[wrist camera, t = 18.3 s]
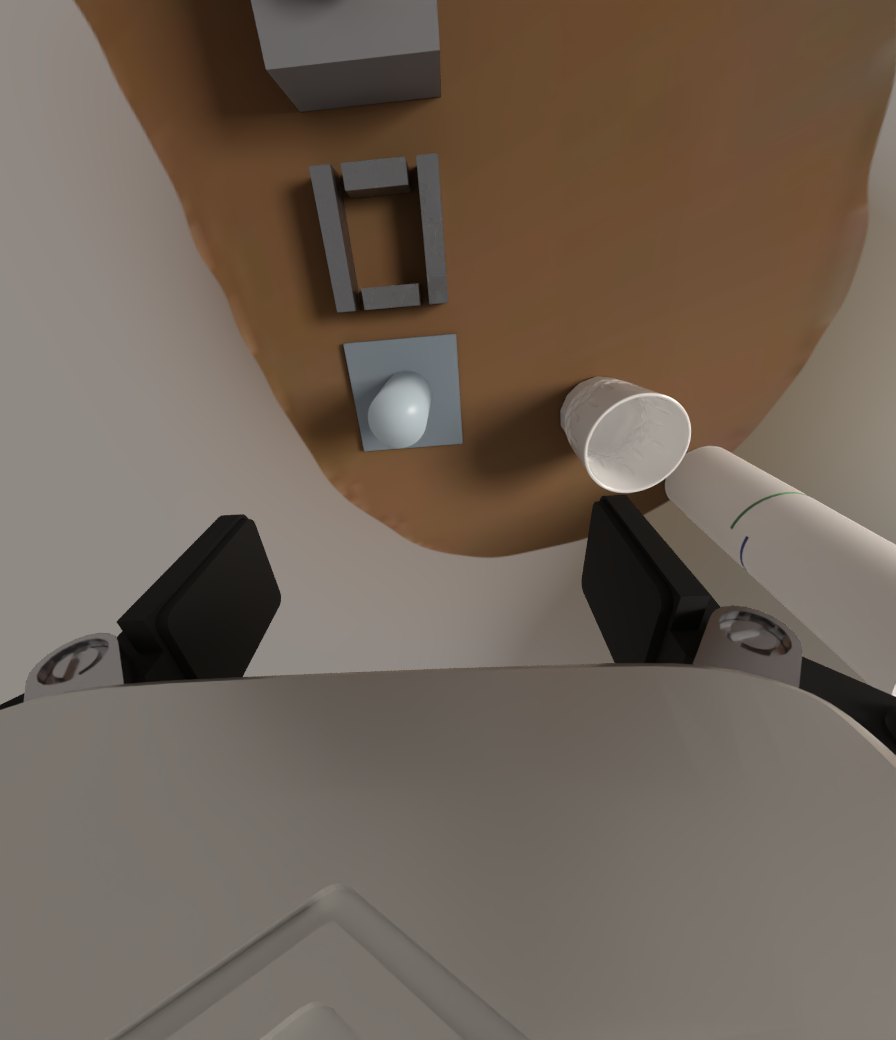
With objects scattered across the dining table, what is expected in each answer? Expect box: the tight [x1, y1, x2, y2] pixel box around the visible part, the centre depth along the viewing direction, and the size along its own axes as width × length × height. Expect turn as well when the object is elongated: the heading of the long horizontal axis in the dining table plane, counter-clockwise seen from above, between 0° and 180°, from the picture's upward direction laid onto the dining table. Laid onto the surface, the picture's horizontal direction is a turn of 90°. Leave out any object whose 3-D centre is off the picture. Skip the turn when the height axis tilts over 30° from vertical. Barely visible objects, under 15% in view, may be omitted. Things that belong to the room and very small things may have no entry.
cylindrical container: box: [665, 446, 896, 697], centre depth 31 cm, size 7×7×25 cm
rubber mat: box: [343, 334, 463, 451], centre depth 37 cm, size 10×10×1 cm
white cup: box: [560, 377, 691, 493], centre depth 34 cm, size 8×8×10 cm
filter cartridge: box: [368, 371, 432, 448], centre depth 33 cm, size 4×4×8 cm
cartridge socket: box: [309, 153, 448, 313], centre depth 30 cm, size 9×9×2 cm
